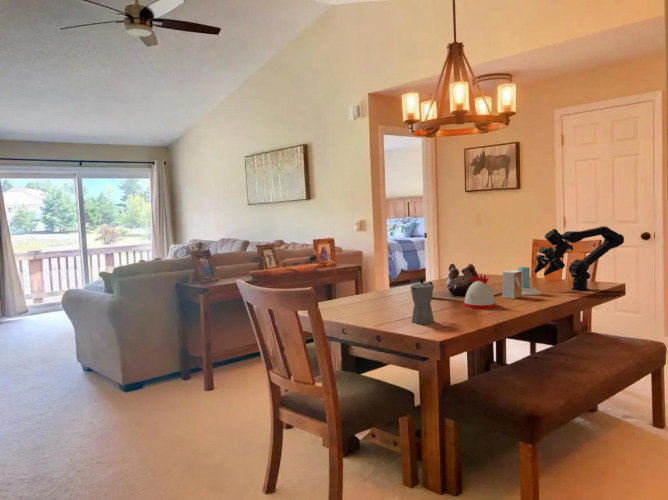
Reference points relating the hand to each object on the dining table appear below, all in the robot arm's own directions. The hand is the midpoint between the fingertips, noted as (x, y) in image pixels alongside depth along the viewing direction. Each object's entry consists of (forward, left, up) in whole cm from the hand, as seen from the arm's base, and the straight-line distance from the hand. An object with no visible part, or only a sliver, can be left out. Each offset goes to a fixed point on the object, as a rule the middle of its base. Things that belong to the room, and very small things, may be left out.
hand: (539, 273), depth 270 cm
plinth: (+9, -1, -10) cm, 13 cm away
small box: (+21, +5, -10) cm, 23 cm away
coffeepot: (+85, +31, -10) cm, 90 cm away
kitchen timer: (+47, +15, -10) cm, 50 cm away
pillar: (+9, -1, -8) cm, 12 cm away
